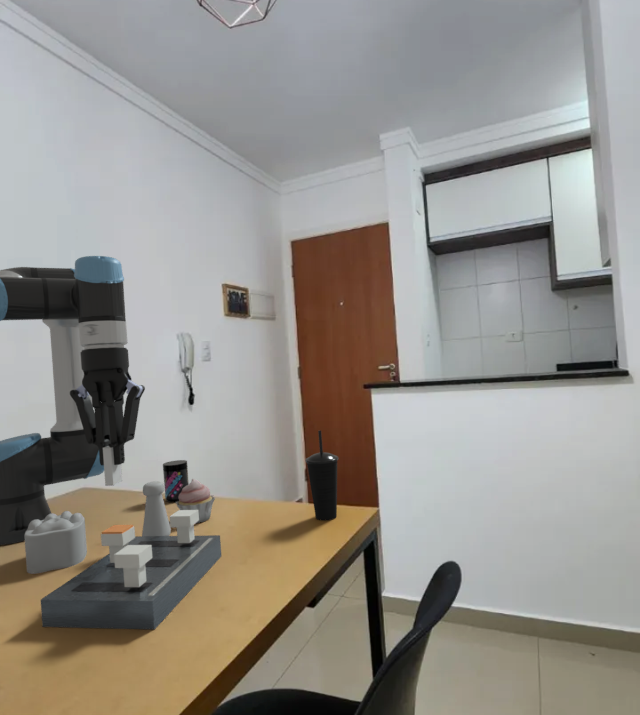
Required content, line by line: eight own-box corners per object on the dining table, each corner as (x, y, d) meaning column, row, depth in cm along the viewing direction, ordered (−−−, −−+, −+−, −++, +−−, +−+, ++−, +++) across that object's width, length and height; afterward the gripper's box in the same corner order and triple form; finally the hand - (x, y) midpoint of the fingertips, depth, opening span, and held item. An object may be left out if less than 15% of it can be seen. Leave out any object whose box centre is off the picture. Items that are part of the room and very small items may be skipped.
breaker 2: (171, 544, 88) (169, 516, 88) (180, 537, 91) (178, 510, 91) (192, 544, 87) (189, 516, 87) (200, 537, 90) (198, 509, 90)
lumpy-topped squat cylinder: (22, 576, 90) (19, 530, 90) (36, 552, 102) (33, 512, 102) (83, 564, 93) (80, 520, 94) (89, 542, 106) (87, 503, 106)
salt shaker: (162, 549, 98) (157, 486, 98) (137, 549, 99) (132, 486, 99) (176, 538, 104) (172, 478, 104) (152, 538, 105) (148, 479, 105)
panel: (42, 626, 71) (40, 599, 71) (136, 556, 95) (134, 536, 95) (154, 629, 67) (152, 600, 67) (221, 556, 92) (219, 535, 92)
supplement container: (161, 500, 136) (158, 463, 136) (183, 494, 141) (180, 459, 141) (171, 504, 131) (168, 466, 131) (194, 498, 136) (191, 461, 136)
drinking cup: (332, 524, 105) (325, 433, 105) (303, 520, 109) (296, 433, 109) (348, 513, 111) (342, 428, 112) (321, 510, 115) (314, 427, 116)
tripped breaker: (103, 564, 81) (100, 532, 81) (115, 556, 84) (113, 524, 84) (124, 564, 80) (122, 532, 80) (136, 555, 83) (134, 524, 84)
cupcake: (192, 512, 122) (189, 473, 122) (223, 514, 118) (220, 474, 119) (168, 525, 113) (165, 483, 113) (201, 527, 110) (198, 484, 110)
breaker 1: (116, 589, 71) (114, 554, 71) (130, 578, 74) (127, 545, 74) (141, 589, 70) (138, 554, 70) (154, 578, 74) (151, 544, 74)
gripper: (55, 350, 80) (65, 490, 80) (127, 344, 78) (137, 488, 78) (84, 350, 87) (93, 478, 87) (150, 345, 85) (159, 476, 85)
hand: (113, 483), depth 83 cm, fingers closed
